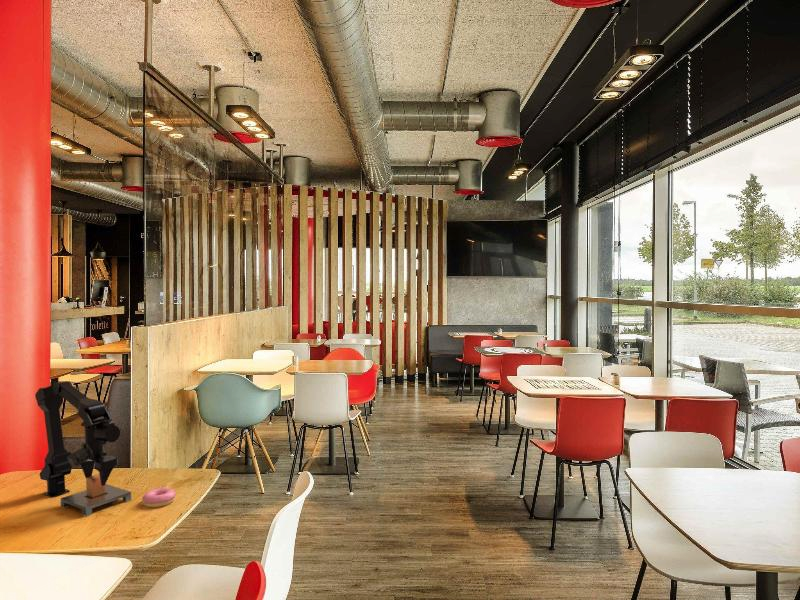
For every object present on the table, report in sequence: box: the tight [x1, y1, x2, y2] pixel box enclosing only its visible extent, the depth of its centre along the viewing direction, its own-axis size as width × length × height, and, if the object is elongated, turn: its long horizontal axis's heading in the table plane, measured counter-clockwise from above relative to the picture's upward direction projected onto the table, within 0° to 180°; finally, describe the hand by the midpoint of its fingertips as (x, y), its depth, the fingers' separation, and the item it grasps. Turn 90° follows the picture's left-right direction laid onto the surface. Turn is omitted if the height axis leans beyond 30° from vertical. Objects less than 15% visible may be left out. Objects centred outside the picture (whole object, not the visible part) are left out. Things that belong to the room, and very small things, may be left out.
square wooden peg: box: [85, 473, 105, 499], centre depth 198 cm, size 4×4×10 cm
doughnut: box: [141, 487, 176, 508], centre depth 198 cm, size 11×11×4 cm
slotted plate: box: [60, 483, 132, 517], centre depth 199 cm, size 16×16×3 cm
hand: (95, 483), depth 198 cm, fingers open, 9 cm apart
